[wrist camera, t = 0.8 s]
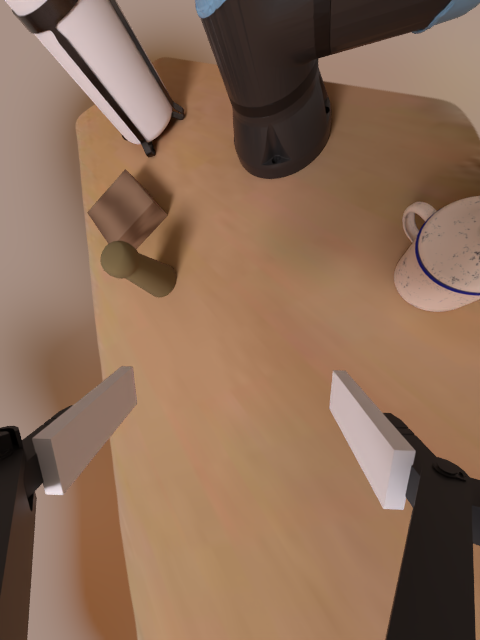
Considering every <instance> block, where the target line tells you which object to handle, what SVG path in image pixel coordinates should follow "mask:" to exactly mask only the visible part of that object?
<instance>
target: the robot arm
mask: <svg viewBox="0 0 480 640" xmlns="http://www.w3.org/2000/svg"><path fill="white" fill-rule="evenodd" d="M195 2H196V10H197V13H198V16H199V17H200V18H201V20H202V23H203V26H204V29H205V32H206V34H207V37H208V40H209V43H210V46H211V48H212V51H213V54H214V56H215V59H216V62H217V65H218V68H219V71H220V73H221V76H222V79H223V82H224V85H225V87H226V90H227V93H228V96H229V98H230V101H231V104H232V108H233V128H234V144H235V149H236V152H237V154H238V157H239V159H240V162H241V164H242V166H243V167H244V168H245V169H246V170H247V171H248V172H249V173H251V174H252V175H254V176H257V177H260V178H266V179H274V178H281V177H285V176H288V175H291V174H293V173H296V172H297V171H299V170H301V169H303V168H304V167H306V166H307V165H308V164H310V163H311V162H312V161H313V160H314V159H315V158H316V157H317V156H318V155H319V154H320V152H321V151H322V149H323V148H324V146H325V144H326V142H327V140H328V138H329V135H330V130H331V104H330V100H329V98H328V94H327V91H326V89H325V86H324V83H323V80H322V77H321V74H320V71H319V68H318V58H321V57H325V56H328V55H332V54H335V53H339V52H342V51H346V50H349V49H353V48H356V47H360V46H363V45H367V44H371V43H374V42H378V41H381V40H384V39H388V38H391V37H395V36H399V35H402V34H406V33H409V32H412V33H414V34H416V33H417V34H418V33H422V32H424V31H425V30H427V29H430V28H431V27H432V26H434V25H437V24H440V23H443V22H446V21H449V20H452V19H455V18H458V17H460V16H462V15H464V14H466V13H467V12H468V11H470V10H471V9H473V8H475V7H476V6H477V5H478V4H479V3H480V0H195ZM136 404H137V398H136V389H135V381H134V372H133V367H128V366H121V367H120V368H119V369H118V370H116V371H115V372H114V373H113V374H111V375H110V376H109V377H108V378H107V379H105V380H104V381H103V382H102V383H100V384H99V385H98V386H97V387H95V388H94V389H93V390H92V391H90V392H89V393H88V394H87V395H85V396H84V397H83V398H82V399H80V400H79V401H78V402H77V403H75V404H74V405H71V406H69V407H67V408H65V409H63V410H61V411H59V412H58V413H57V414H56V415H54V416H53V417H52V418H51V419H49V420H48V421H46V422H45V423H44V425H41V426H40V427H39V428H37V429H36V430H35V431H34V432H32V433H31V434H30V435H29V436H27V437H26V438H25V439H23V440H21V436H20V432H19V429H18V427H16V426H7V427H2V428H0V640H27V634H28V633H27V632H28V619H29V604H30V588H31V574H32V573H31V572H32V559H33V544H34V528H35V513H36V499H37V498H36V494H35V490H36V489H37V488H38V487H39V486H40V485H41V484H42V483H43V485H44V489H45V493H46V494H54V495H64V493H65V492H66V491H67V490H68V488H69V487H70V486H71V485H72V483H73V482H74V481H75V480H76V479H77V477H78V476H79V475H80V474H81V472H82V471H83V470H84V469H85V467H86V466H87V465H88V464H89V462H90V461H91V460H92V459H93V457H94V456H95V455H96V454H97V452H98V451H99V450H100V449H101V448H102V446H103V445H104V444H105V443H106V441H107V440H108V439H109V438H110V436H111V435H112V434H113V433H114V431H115V430H116V429H117V428H118V426H119V425H120V424H121V423H122V422H123V420H124V419H125V418H126V417H127V415H128V414H129V413H130V412H131V410H132V409H133V408H134V407H135V405H136ZM329 409H330V410H331V412H332V414H333V416H334V418H335V420H336V422H337V423H338V425H339V427H340V429H341V431H342V433H343V435H344V436H345V438H346V440H347V442H348V444H349V446H350V448H351V449H352V451H353V453H354V455H355V457H356V459H357V460H358V462H359V464H360V466H361V468H362V470H363V472H364V473H365V475H366V477H367V479H368V481H369V483H370V485H371V486H372V488H373V490H374V492H375V494H376V496H377V498H378V499H379V501H380V503H381V505H382V507H383V509H400V510H404V505H405V500H406V498H407V499H408V501H409V502H410V504H411V505H412V507H413V511H412V515H411V520H410V524H409V529H408V534H407V539H406V544H405V549H404V553H403V558H402V563H401V568H400V572H399V577H398V582H397V587H396V591H395V596H394V601H393V606H392V610H391V615H390V620H389V625H388V629H387V634H386V639H385V640H476V638H475V604H474V569H473V543H474V544H476V545H479V546H480V480H477V479H474V478H470V477H469V476H468V475H467V474H466V473H465V471H464V470H462V469H461V468H460V467H458V466H457V465H455V464H454V463H452V462H450V461H448V460H445V459H442V458H439V457H436V456H435V455H434V454H433V453H432V452H431V451H430V450H429V449H428V448H427V447H426V446H425V445H424V444H423V443H422V441H421V440H420V439H419V438H418V437H417V436H415V435H414V433H413V432H412V431H411V430H410V429H408V427H407V426H406V425H405V424H404V423H403V422H402V421H401V420H400V419H399V418H397V417H396V416H394V415H392V414H391V413H382V412H381V411H380V410H379V408H378V407H377V406H376V405H375V404H374V403H373V402H372V400H371V399H370V398H369V397H368V396H367V395H366V394H365V392H364V391H363V390H362V389H361V388H360V387H359V386H358V384H357V383H356V382H355V381H354V380H353V379H352V378H351V377H350V375H349V374H348V373H347V372H346V371H340V370H333V377H332V387H331V397H330V407H329Z"/></svg>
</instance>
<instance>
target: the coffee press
mask: <svg viewBox="0 0 480 640" xmlns="http://www.w3.org/2000/svg"><path fill="white" fill-rule="evenodd" d="M5 2H6V3H7V4H8V5H9V6H10V7H11V8H12V11H13V13H14V14H15V16H16V17H17V18H18V19H19V20H20V21H21V22H22V24H23V25H24V26H25V27H26V28H27V29H28V30H29V31H30V32H31V33H33V34H34V35H35V36H36V37H37V38H38V39H39V40H40V41H41V43H42V44H43V45H44V46H45V47H46V48H47V50H48V51H49V52H50V53H51V54H52V55H53V56H54V57H55V59H56V60H57V61H58V62H59V63H60V64H61V65H62V67H63V68H64V69H65V70H66V71H67V72H68V73H69V75H70V76H71V77H72V78H73V79H74V80H75V81H76V83H77V84H78V85H79V86H80V87H81V88H82V89H83V91H84V92H85V93H86V94H87V95H88V96H89V98H90V99H91V100H92V101H93V102H94V103H95V104H96V106H97V107H98V108H99V109H100V110H101V111H102V112H103V113H104V115H105V116H106V117H107V118H108V119H109V120H110V121H111V123H112V124H113V125H114V126H115V127H116V128H117V129H118V131H119V132H120V133H121V134H122V137H123V138H124V139H125V140H128V141H130V142H131V143H134V144H141V145H142V147H143V149H144V151H145V153H146V155H147V156H148V157H152V156H155V150H154V147H153V144H152V140H154V139H155V138H157V137H158V136H159V135H160V134H161V133H162V132H163V131H164V129H165V128H166V126H167V125H168V123H169V121H170V118H172V117H173V118H176V119H179V120H183V119H184V109H183V108H182V107H181V106H179V105H178V104H176V103H175V102H174V101H173V100H172V99H171V97H170V95H169V93H168V91H167V89H166V88H165V86H164V84H163V82H162V80H161V79H160V77H159V75H158V73H157V72H156V70H155V68H154V66H153V65H152V63H151V61H150V59H149V57H148V56H147V54H146V53H145V51H144V49H143V47H142V45H141V43H140V42H139V40H138V38H137V36H136V35H135V33H134V31H133V29H132V27H131V26H130V24H129V22H128V20H127V19H126V17H125V15H124V13H123V12H122V10H121V8H120V6H119V5H118V3H117V1H116V0H5ZM172 107H173V108H174V109H175V110H177V111H178V112H180V113H182V114H179V113H177V112H174V111H172Z"/></svg>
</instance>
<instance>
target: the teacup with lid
mask: <svg viewBox="0 0 480 640" xmlns="http://www.w3.org/2000/svg"><path fill="white" fill-rule="evenodd" d="M415 213H416V214H418V215H419V216H420V217H421V218H422V219H423V220H424V221H425V223H424V224H423V226H422V227H421V229H420V230H418V228H417V226H416V223H415ZM402 223H403V229H404V231H405V233H406V235H407V237H408V238H409V240H410V241H411V242H412V244H411V246H410V247H409V248H408V250H407V251H406V252H405V254H404V255H403V256H402V258H401V259H400V260H399V262H398V264H397V266H396V268H395V272H394V282H395V286H396V288H397V291H398V292H399V294H400V295H401V296H402V297H403V299H405V300H406V301H407V302H408V303H410V304H411V305H413V306H415V307H417V308H420V309H423V310H427V311H435V312H442V311H449V310H453V309H456V308H459V307H462V306H464V305H467V304H469V303H472V302H474V301H477V300H479V299H480V196H474V197H469V198H465V199H461V200H458V201H455V202H453V203H451V204H448V205H447V206H445V207H443V208H441V209H439V210H438V211H436V210H435V209H434V208H433V207H432V206H431V205H429V204H427V203H425V202H415V203H413V204H412V205H410V206H409V207H407V208H406V210H405V211H404V214H403V218H402Z"/></svg>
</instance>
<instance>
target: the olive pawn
mask: <svg viewBox="0 0 480 640" xmlns="http://www.w3.org/2000/svg"><path fill="white" fill-rule="evenodd" d="M101 265H102V267H103V269H104V271H105V272H107V273H108V274H109V275H110V276H113V277H116V278H121V279H122V278H126V279H128V280H129V281H131V282H132V283H134V284H136V285H137V286H139V287H140V288H142V289H144V290H145V291H147V292H148V293H150V294H152V295H153V296H155V297H164V296H166V295H168V294H169V293H170V292H171V291H172V290H173V288H174V287H175V284H176V272H175V271H174V269H173V268H172V267H171V266H169V265H167V264H164V263H162V262H159V261H157V260H154V259H152V258H149V257H147V256H144V255H142V254H139V253H138V252H137V250H136V249H135V248H134V247H133V246H132V245H131V244H129V243H128V242H124V241H113V242H111V243H109V244H108V245H107V246H106V247H105V248H104V250H103V252H102V254H101Z"/></svg>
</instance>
